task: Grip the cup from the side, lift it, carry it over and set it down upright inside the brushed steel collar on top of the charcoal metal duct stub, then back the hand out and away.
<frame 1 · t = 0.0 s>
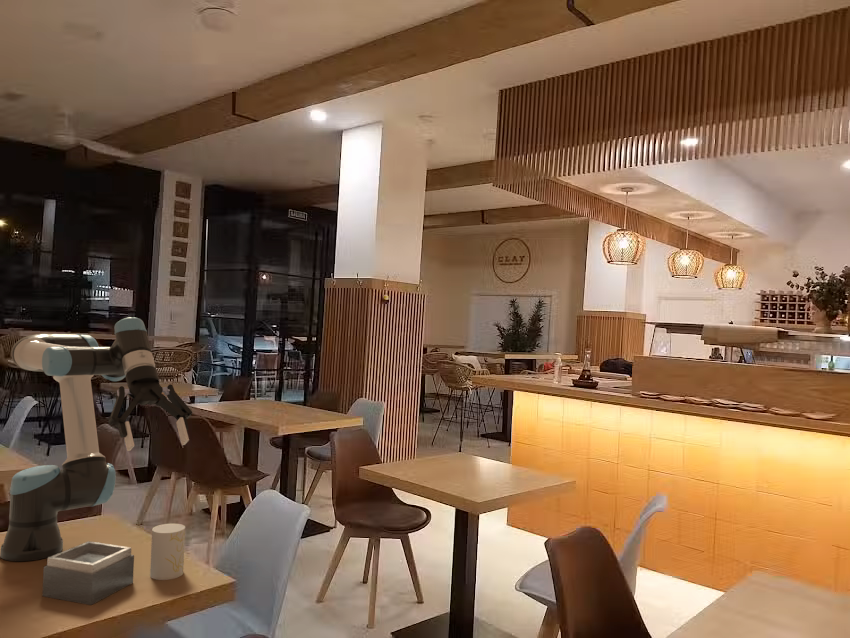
hand: (159, 445, 161), 36 cm above the table, tool tilted 35°, fingers open, 13 cm apart
cup: (166, 574, 172), on the table
duct stub: (89, 589, 161), on the table
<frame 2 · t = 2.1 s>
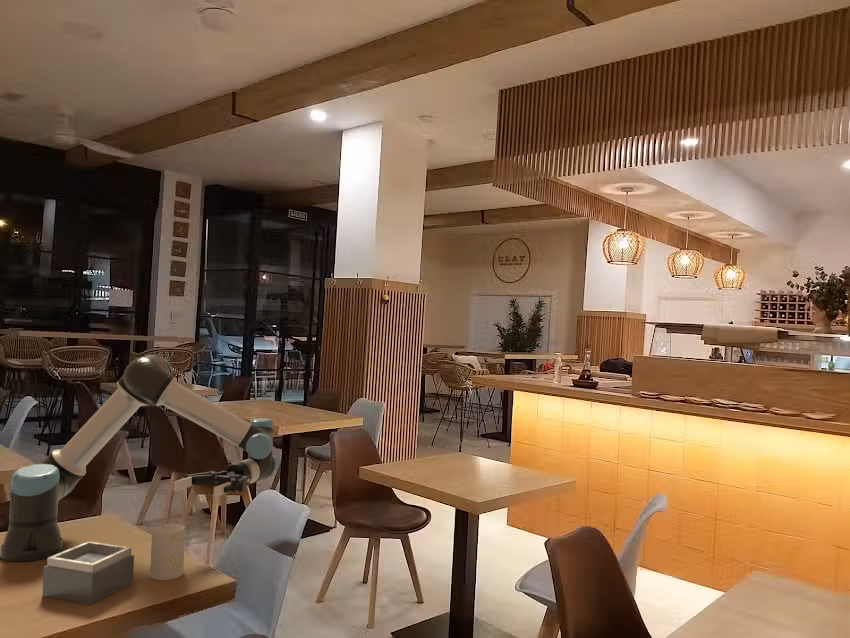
hand: (194, 489, 182), 20 cm above the table, tool horizontal, fingers open, 13 cm apart
nothing on the table moved.
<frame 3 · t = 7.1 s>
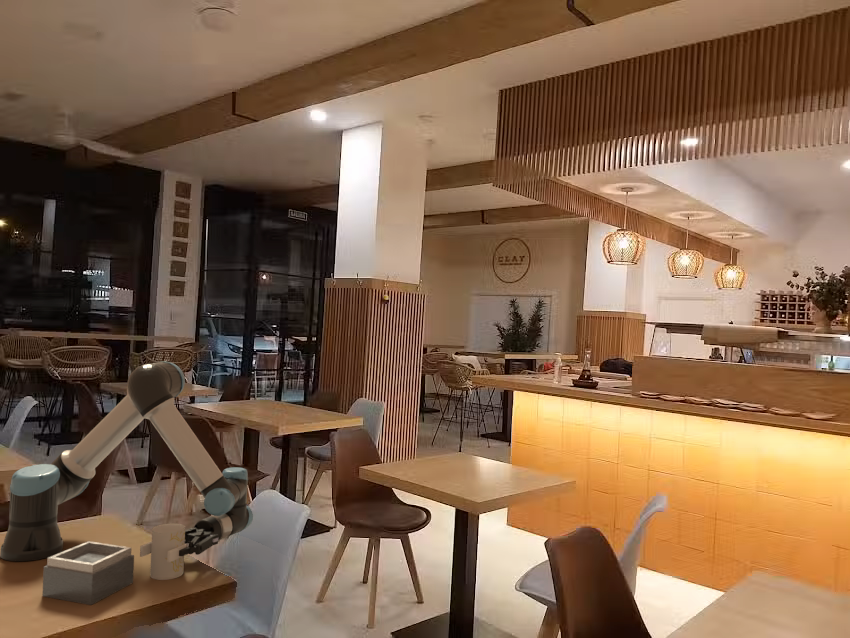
hand: (154, 554, 168), 7 cm above the table, tool horizontal, fingers closed on cup, 8 cm apart
cup: (166, 574, 172), on the table, touching gripper
when the fingers open (15 cm above the table, at t = 13.2 s): cup drops 1 cm, resting on duct stub.
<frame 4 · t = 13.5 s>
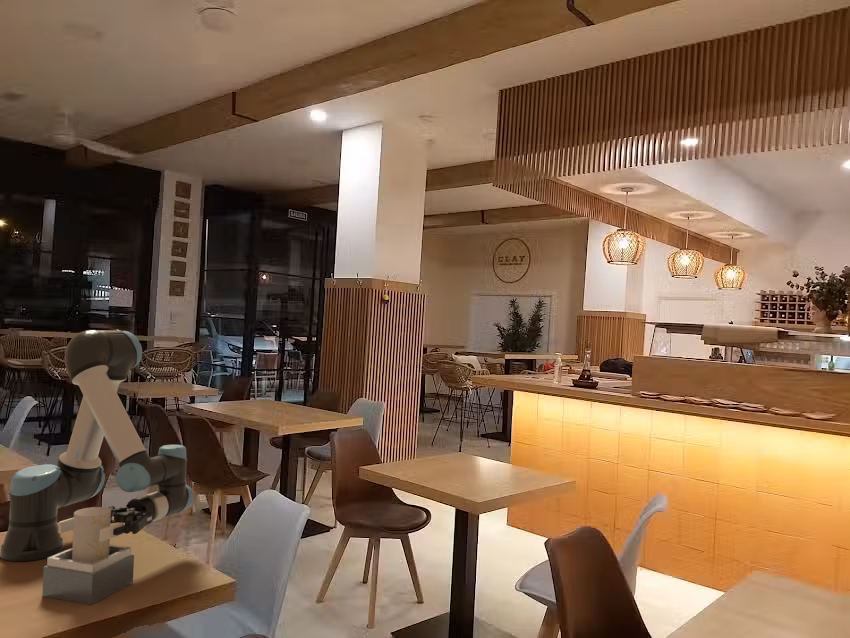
hand: (79, 531, 158), 15 cm above the table, tool horizontal, fingers open, 12 cm apart
cup: (90, 561, 161), point 7 cm above the table, touching duct stub
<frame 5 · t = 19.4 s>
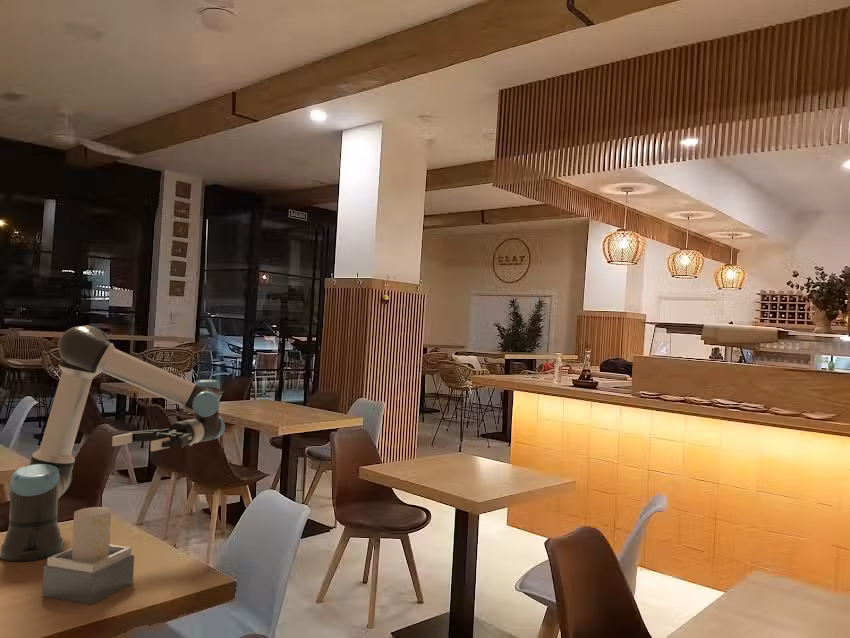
hand: (132, 443, 182), 32 cm above the table, tool horizontal, fingers open, 13 cm apart
nothing on the table moved.
at the end: cup 0.1 cm off-centre on the duct stub, point 6.8 cm above the duct stub's base; cup tilted 0°; the gripper is holding nothing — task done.
